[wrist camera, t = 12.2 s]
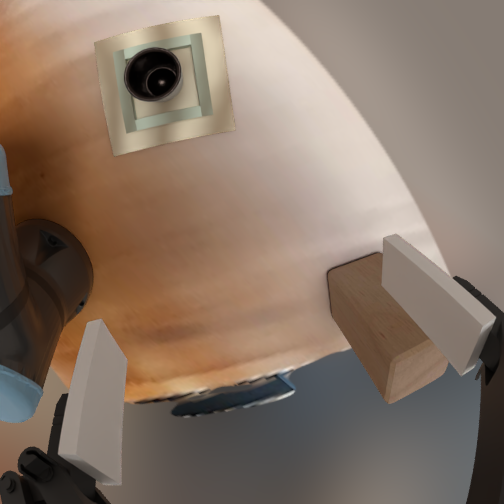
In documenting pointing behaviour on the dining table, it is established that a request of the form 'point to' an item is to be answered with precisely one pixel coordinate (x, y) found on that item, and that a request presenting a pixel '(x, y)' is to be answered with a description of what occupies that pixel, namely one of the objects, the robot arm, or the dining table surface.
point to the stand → (181, 106)
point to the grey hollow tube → (153, 75)
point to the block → (382, 330)
